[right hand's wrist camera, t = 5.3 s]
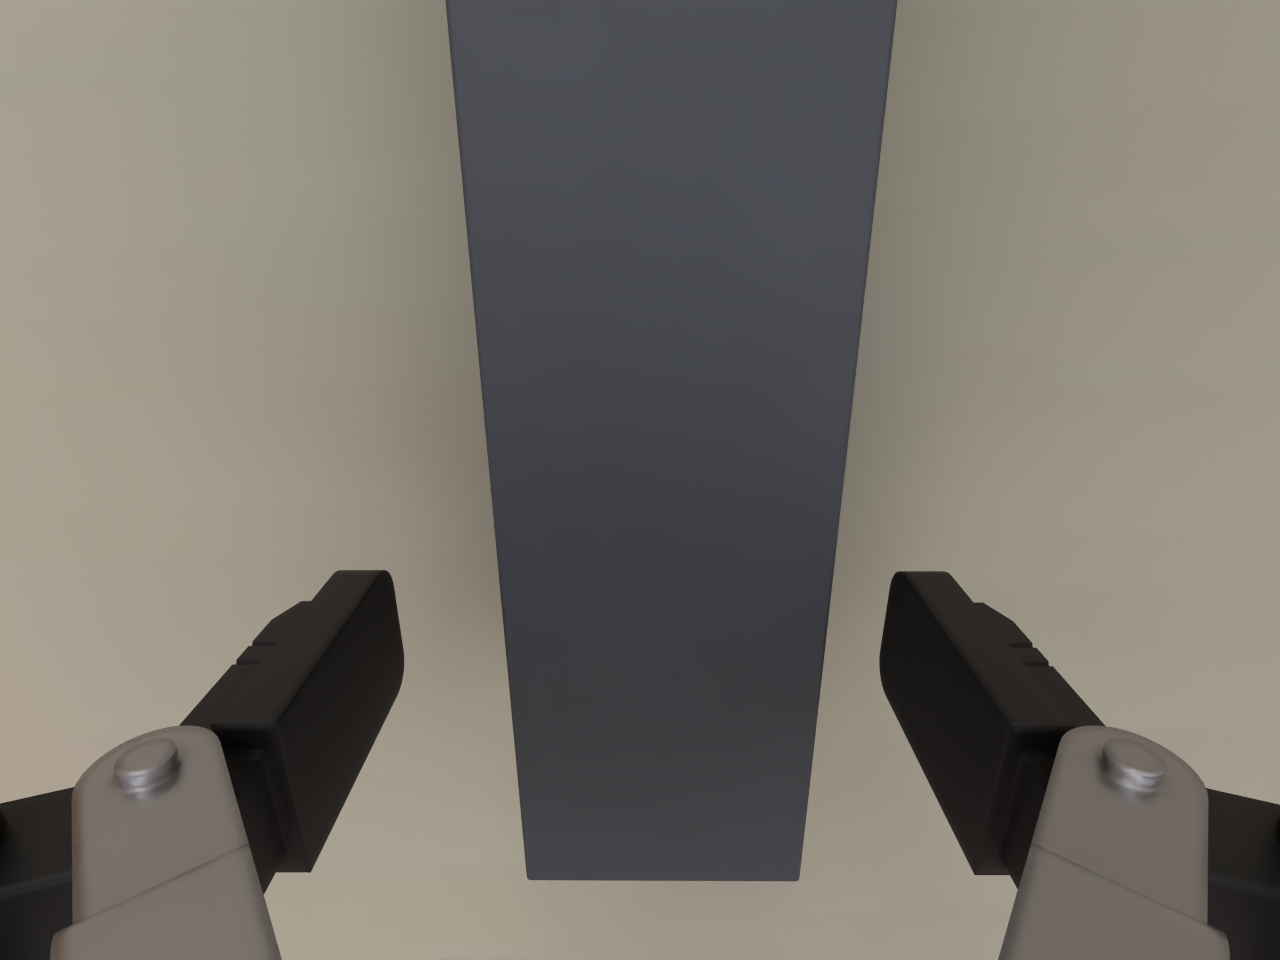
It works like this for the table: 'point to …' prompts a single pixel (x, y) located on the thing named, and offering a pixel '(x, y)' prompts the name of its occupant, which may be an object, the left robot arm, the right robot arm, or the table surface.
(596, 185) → the post
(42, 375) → the table surface
